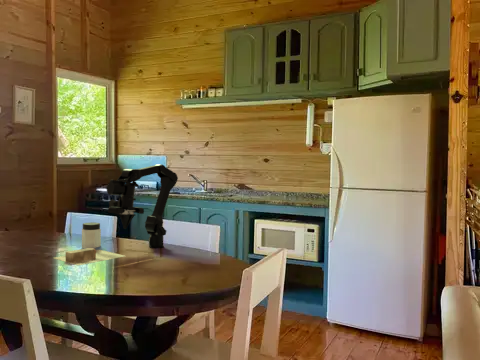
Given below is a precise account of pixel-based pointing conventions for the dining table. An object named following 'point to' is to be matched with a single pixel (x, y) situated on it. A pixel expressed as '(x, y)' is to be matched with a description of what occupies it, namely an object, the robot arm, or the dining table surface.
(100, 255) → the board
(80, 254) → the block
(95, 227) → the jar
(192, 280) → the dining table surface
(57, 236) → the dining table surface
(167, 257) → the dining table surface
